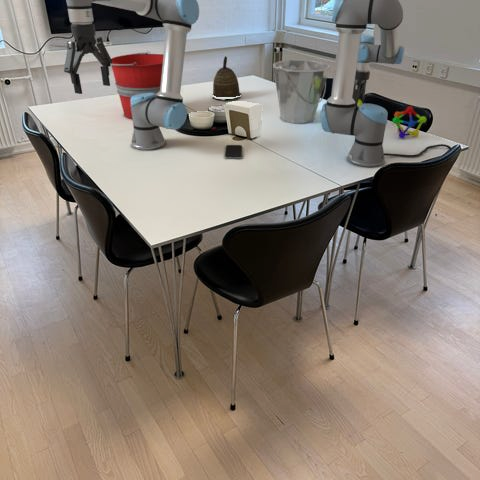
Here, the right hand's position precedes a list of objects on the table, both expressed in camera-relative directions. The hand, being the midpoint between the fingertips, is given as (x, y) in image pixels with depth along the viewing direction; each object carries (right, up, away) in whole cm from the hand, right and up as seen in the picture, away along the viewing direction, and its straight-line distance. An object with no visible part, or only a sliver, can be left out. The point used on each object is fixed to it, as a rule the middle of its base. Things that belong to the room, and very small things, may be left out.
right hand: (355, 116), depth 229 cm
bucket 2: (-28, +3, +15) cm, 32 cm away
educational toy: (+22, -13, -11) cm, 27 cm away
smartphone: (-63, -25, -30) cm, 73 cm away
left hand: (-112, -10, -71) cm, 133 cm away
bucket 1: (-113, +8, +22) cm, 115 cm away
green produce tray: (0, -3, +2) cm, 3 cm away
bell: (-68, +27, +53) cm, 91 cm away
